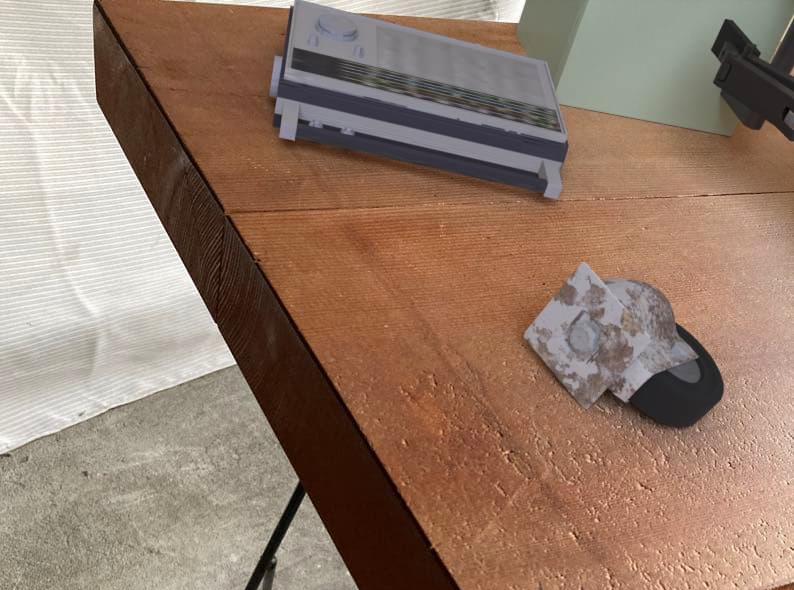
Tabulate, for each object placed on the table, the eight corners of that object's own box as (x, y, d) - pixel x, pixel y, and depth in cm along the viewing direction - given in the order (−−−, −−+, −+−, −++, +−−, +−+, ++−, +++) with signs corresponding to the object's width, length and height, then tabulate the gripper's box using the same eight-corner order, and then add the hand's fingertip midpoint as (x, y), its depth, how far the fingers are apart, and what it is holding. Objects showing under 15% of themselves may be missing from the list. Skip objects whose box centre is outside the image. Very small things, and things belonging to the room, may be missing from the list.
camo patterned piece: (696, 433, 69) (625, 467, 62) (595, 316, 71) (517, 336, 65) (767, 369, 64) (699, 399, 57) (656, 246, 67) (578, 260, 60)
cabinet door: (757, 172, 96) (891, -74, 80) (569, 138, 90) (673, -132, 75) (728, 132, 101) (848, -106, 85) (549, 98, 96) (642, -162, 80)
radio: (550, 51, 90) (582, 155, 76) (531, 107, 94) (558, 216, 80) (286, -16, 85) (270, 82, 72) (276, 46, 89) (260, 150, 76)
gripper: (732, 192, 74) (646, 66, 88) (996, 236, 81) (878, 113, 94) (784, 94, 68) (683, -24, 82) (1063, 150, 75) (927, 32, 89)
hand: (787, 49), depth 88 cm, fingers open, 13 cm apart
